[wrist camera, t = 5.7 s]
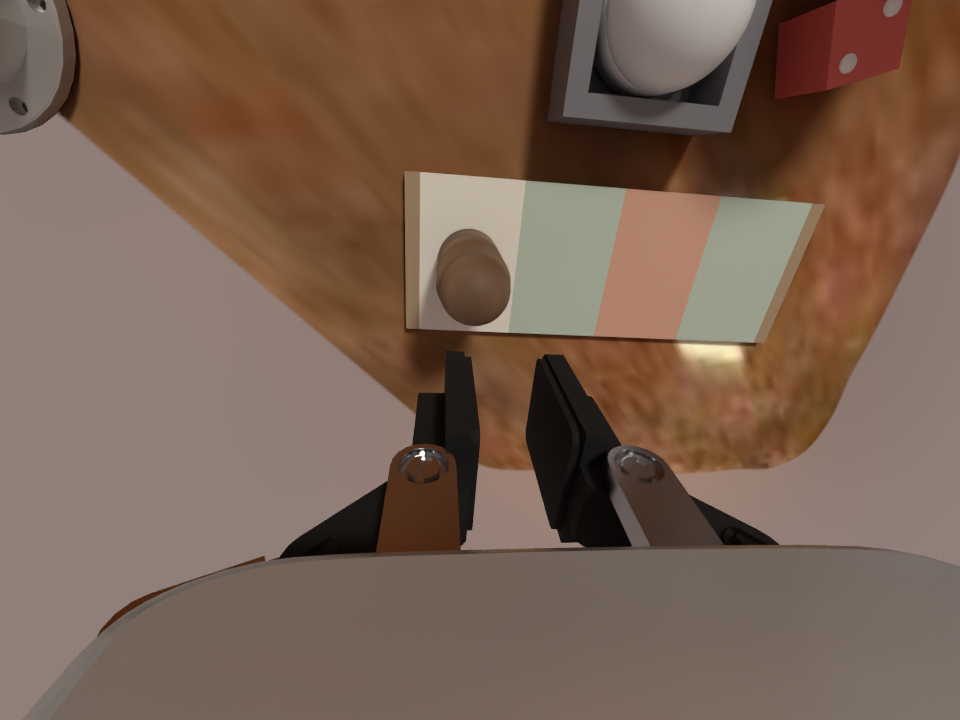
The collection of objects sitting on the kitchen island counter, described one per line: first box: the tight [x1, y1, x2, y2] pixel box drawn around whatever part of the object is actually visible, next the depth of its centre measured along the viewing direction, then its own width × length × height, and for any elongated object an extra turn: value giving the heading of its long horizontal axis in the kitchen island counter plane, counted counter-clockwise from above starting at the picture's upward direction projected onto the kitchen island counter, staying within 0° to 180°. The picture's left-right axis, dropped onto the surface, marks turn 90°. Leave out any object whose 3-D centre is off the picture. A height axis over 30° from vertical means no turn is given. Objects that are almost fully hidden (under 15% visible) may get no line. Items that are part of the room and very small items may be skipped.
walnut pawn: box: [436, 229, 511, 326], centre depth 24 cm, size 4×4×9 cm
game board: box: [404, 171, 825, 343], centre depth 30 cm, size 30×11×1 cm, turn 86°
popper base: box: [547, 0, 773, 136], centre depth 22 cm, size 10×10×4 cm
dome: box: [594, 0, 756, 99], centre depth 20 cm, size 7×7×7 cm
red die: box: [774, 0, 911, 100], centre depth 23 cm, size 4×4×4 cm
